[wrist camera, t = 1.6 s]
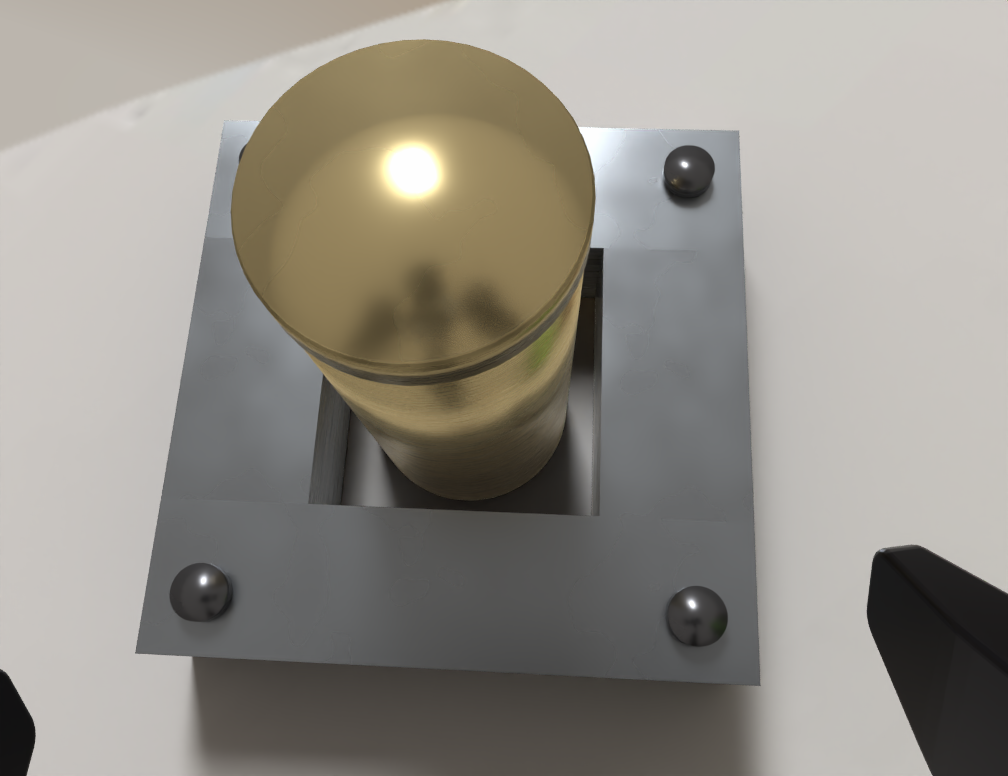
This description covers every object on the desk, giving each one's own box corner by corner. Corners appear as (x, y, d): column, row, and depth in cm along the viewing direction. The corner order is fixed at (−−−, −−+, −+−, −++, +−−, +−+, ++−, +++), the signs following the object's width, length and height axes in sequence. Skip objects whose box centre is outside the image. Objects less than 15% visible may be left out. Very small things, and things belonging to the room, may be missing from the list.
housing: (727, 679, 20) (765, 686, 17) (191, 651, 20) (126, 653, 17) (714, 192, 24) (743, 121, 20) (261, 182, 24) (218, 110, 21)
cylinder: (565, 506, 21) (593, 372, 11) (366, 498, 21) (202, 358, 11) (570, 319, 23) (598, 38, 12) (384, 313, 23) (254, 34, 12)
